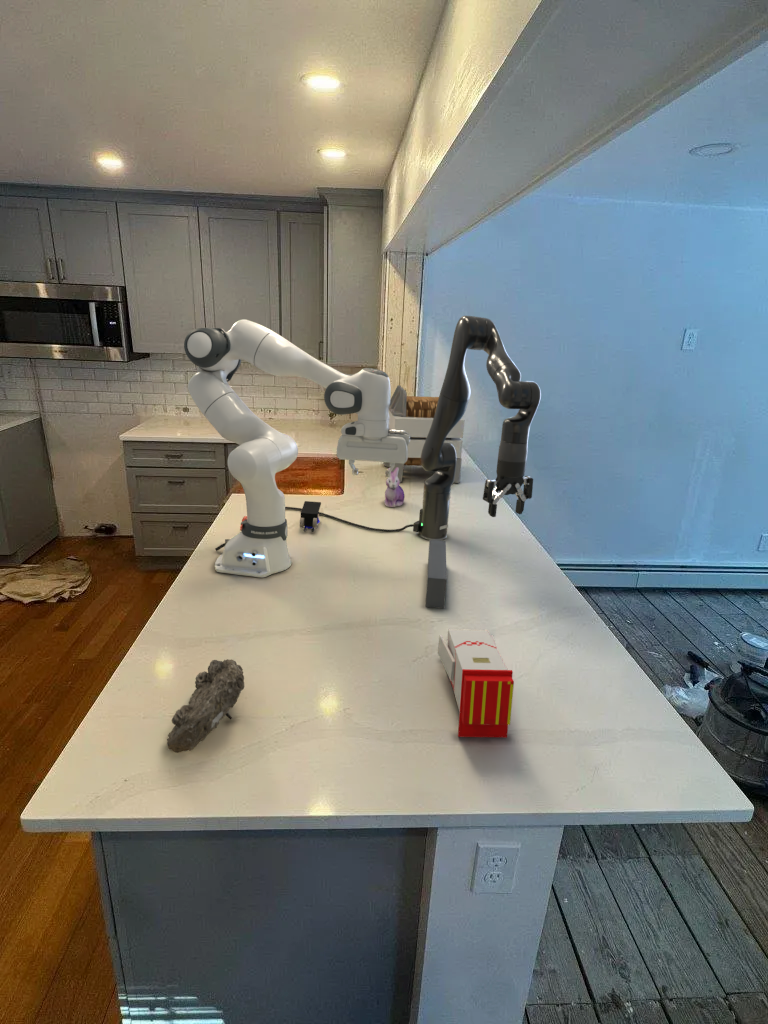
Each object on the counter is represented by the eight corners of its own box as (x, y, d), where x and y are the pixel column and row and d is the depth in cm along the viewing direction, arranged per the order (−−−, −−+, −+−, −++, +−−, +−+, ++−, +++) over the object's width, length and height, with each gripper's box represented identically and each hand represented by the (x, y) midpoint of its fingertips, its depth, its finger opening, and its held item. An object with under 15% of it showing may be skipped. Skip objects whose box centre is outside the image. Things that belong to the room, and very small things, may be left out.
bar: (444, 608, 151) (446, 579, 148) (425, 606, 152) (427, 577, 149) (443, 566, 176) (445, 540, 173) (427, 565, 177) (429, 539, 174)
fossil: (192, 660, 117) (244, 628, 112) (224, 691, 120) (276, 661, 115) (142, 746, 98) (202, 712, 93) (182, 779, 101) (242, 748, 96)
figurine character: (318, 538, 196) (321, 518, 210) (317, 518, 193) (321, 499, 206) (298, 537, 196) (303, 517, 210) (298, 517, 193) (303, 499, 206)
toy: (488, 613, 130) (523, 677, 101) (484, 667, 133) (517, 744, 104) (435, 612, 130) (455, 676, 101) (432, 666, 133) (451, 743, 103)
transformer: (382, 463, 289) (386, 382, 275) (445, 464, 293) (451, 384, 279) (390, 482, 257) (394, 392, 243) (460, 483, 261) (468, 394, 247)
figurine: (389, 509, 224) (391, 472, 218) (377, 501, 232) (379, 465, 227) (410, 506, 228) (412, 470, 223) (398, 498, 236) (399, 463, 231)
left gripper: (410, 428, 161) (408, 475, 165) (339, 424, 162) (338, 470, 167) (409, 432, 155) (406, 481, 159) (335, 428, 156) (335, 476, 161)
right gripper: (526, 452, 157) (519, 508, 162) (481, 455, 151) (476, 512, 157) (543, 459, 150) (535, 516, 156) (497, 462, 145) (490, 521, 150)
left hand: (371, 475), depth 163 cm, fingers open, 8 cm apart
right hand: (505, 514), depth 156 cm, fingers open, 8 cm apart
